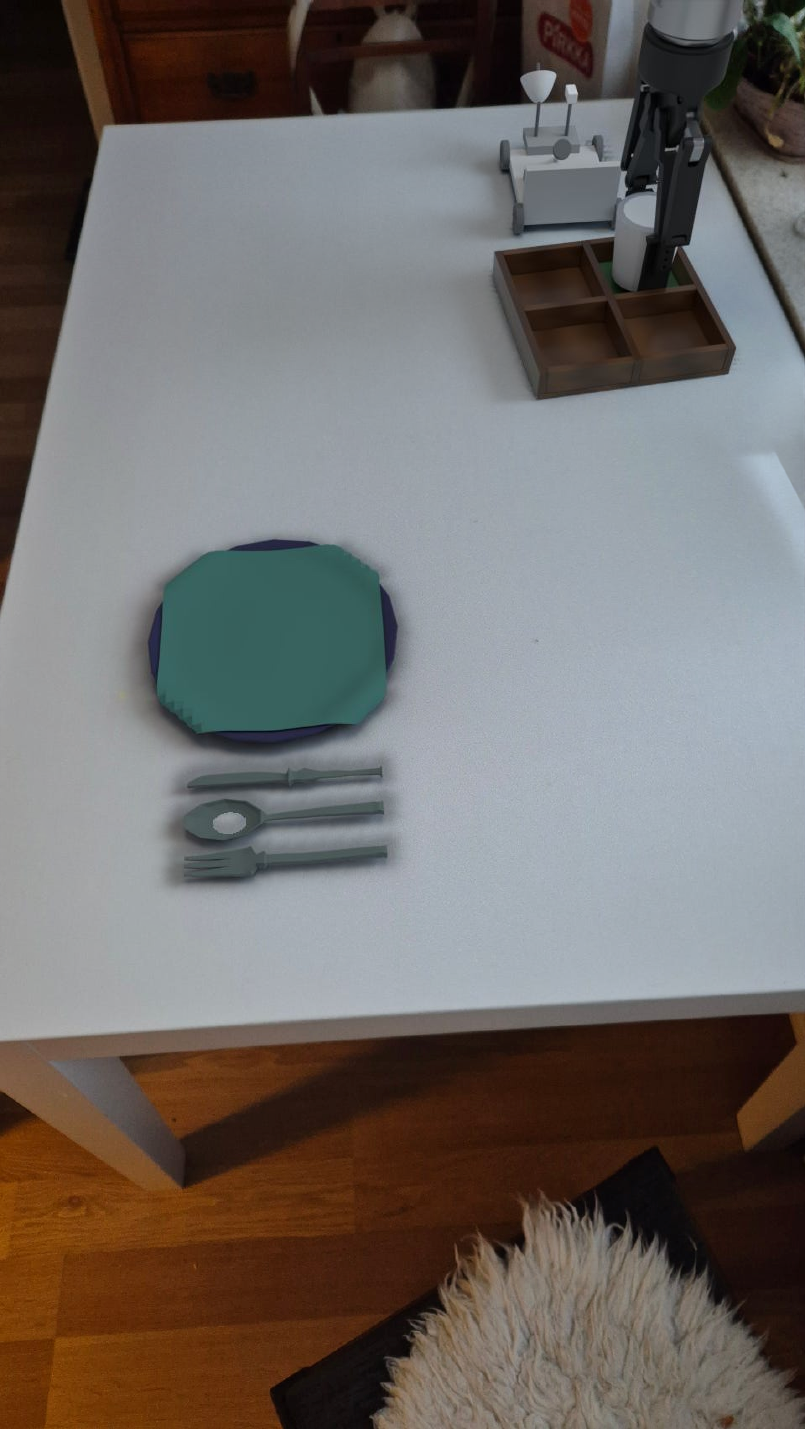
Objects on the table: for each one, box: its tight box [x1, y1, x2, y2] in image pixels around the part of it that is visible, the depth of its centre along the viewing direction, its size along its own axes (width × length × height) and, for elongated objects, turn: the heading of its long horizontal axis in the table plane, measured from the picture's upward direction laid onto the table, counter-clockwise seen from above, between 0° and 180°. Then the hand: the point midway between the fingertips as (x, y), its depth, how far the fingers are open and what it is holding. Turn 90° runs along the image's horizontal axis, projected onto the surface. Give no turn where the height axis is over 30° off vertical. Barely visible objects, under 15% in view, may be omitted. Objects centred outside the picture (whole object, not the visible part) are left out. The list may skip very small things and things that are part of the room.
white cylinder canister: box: [612, 191, 677, 292], centre depth 101 cm, size 7×7×7 cm
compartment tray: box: [492, 235, 737, 401], centre depth 101 cm, size 19×19×3 cm
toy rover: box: [499, 62, 623, 235], centre depth 111 cm, size 18×10×12 cm
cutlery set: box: [147, 538, 399, 878], centre depth 78 cm, size 20×30×2 cm, turn 4°
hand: (639, 273), depth 104 cm, fingers closed on white cylinder canister, 7 cm apart
